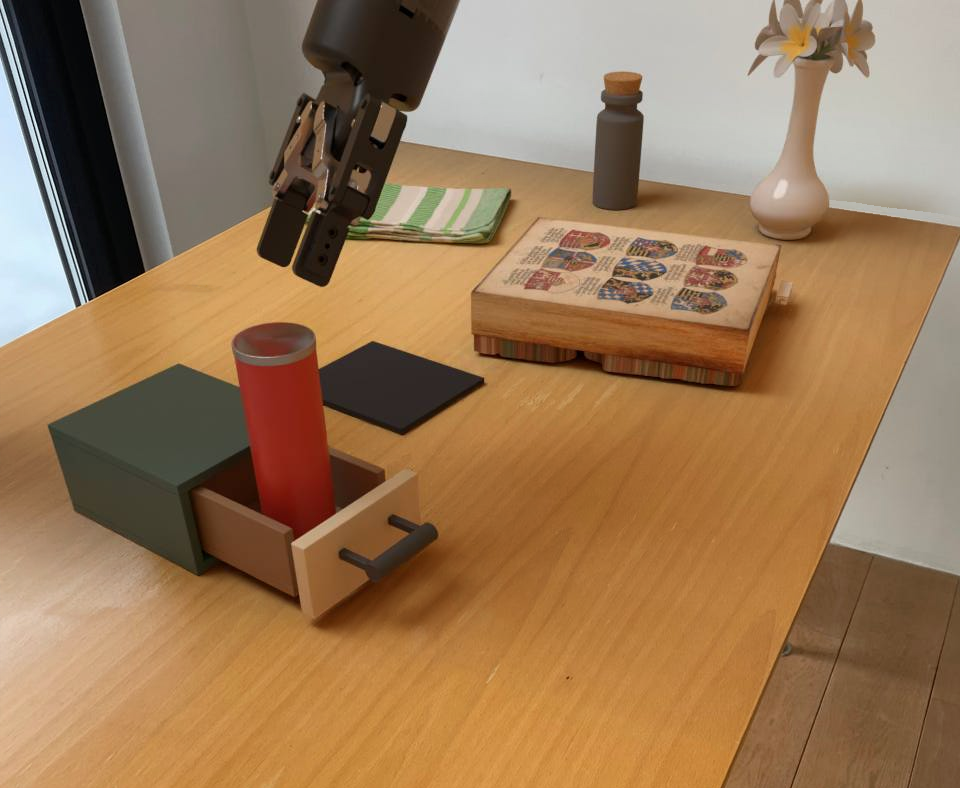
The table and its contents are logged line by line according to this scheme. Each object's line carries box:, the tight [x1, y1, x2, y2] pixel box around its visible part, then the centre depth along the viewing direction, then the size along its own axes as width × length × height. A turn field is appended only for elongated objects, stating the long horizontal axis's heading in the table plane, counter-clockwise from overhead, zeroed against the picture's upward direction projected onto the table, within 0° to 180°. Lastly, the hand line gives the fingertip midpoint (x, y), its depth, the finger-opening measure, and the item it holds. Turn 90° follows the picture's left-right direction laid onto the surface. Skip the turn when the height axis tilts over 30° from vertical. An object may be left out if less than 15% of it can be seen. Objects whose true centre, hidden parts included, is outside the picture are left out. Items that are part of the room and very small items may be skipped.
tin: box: [230, 321, 336, 541], centre depth 71 cm, size 5×5×15 cm
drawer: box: [188, 445, 439, 620], centre depth 74 cm, size 17×11×6 cm, turn 53°
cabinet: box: [46, 362, 252, 576], centre depth 80 cm, size 15×13×8 cm
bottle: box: [592, 71, 645, 211], centre depth 132 cm, size 6×6×15 cm
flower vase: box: [747, 0, 876, 241], centre depth 120 cm, size 13×18×25 cm
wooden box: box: [470, 216, 794, 387], centre depth 106 cm, size 25×6×28 cm
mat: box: [319, 340, 485, 436], centre depth 97 cm, size 14×12×1 cm
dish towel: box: [304, 182, 512, 245], centre depth 132 cm, size 18×23×3 cm
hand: (288, 271), depth 65 cm, fingers open, 8 cm apart
